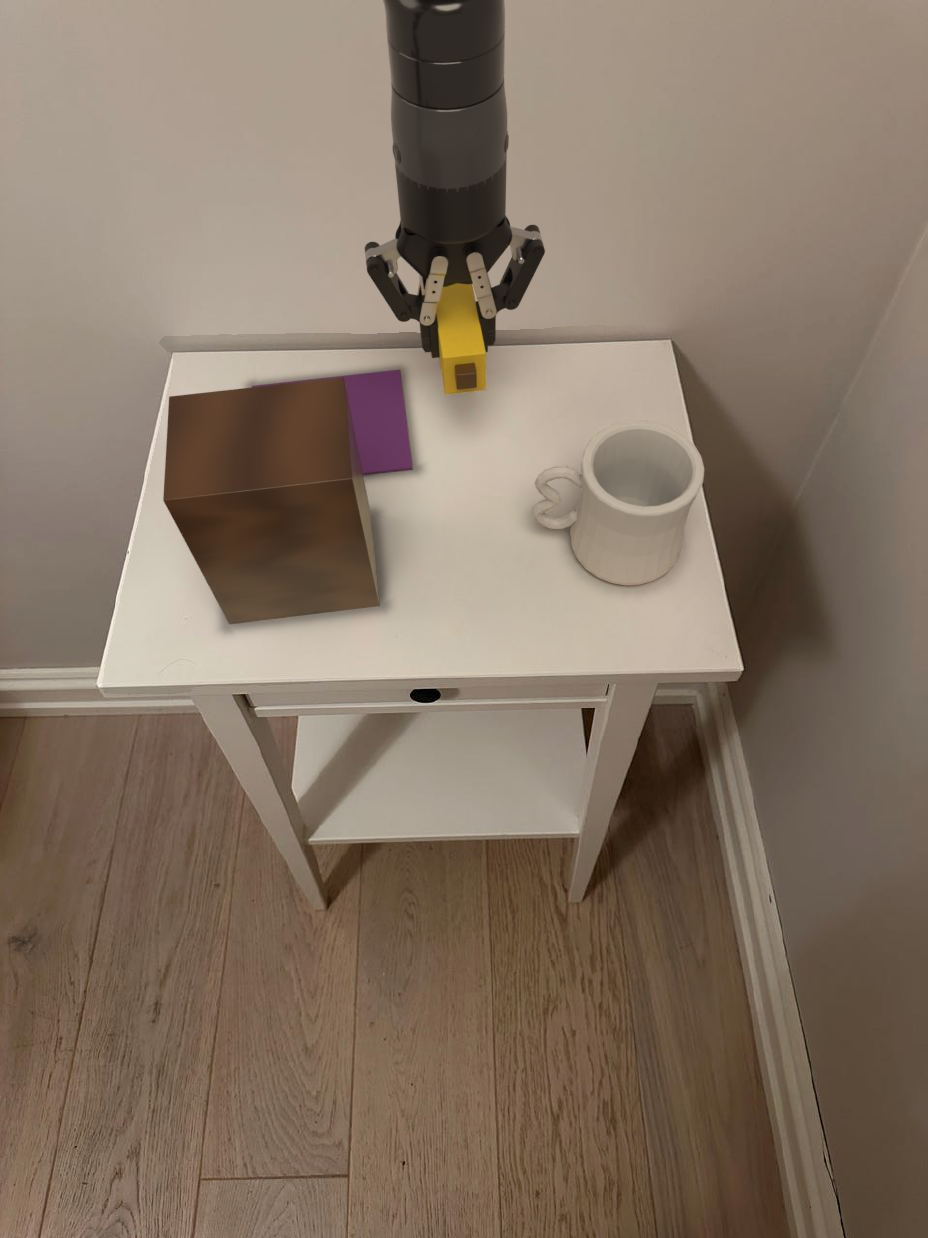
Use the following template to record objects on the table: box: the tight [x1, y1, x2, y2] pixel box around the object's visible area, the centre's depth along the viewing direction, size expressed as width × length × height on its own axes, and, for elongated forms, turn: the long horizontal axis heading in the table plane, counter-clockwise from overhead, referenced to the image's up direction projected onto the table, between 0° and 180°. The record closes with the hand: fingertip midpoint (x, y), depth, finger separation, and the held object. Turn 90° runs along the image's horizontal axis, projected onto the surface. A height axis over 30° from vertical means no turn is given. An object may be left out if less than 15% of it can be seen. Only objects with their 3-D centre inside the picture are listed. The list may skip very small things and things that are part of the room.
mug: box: [531, 419, 706, 586], centre depth 67 cm, size 12×9×10 cm
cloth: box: [251, 368, 414, 476], centre depth 78 cm, size 14×12×1 cm
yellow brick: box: [436, 283, 487, 396], centre depth 70 cm, size 11×3×4 cm, turn 7°
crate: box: [162, 377, 380, 625], centre depth 64 cm, size 12×9×16 cm
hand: (458, 347), depth 72 cm, fingers closed on yellow brick, 3 cm apart
